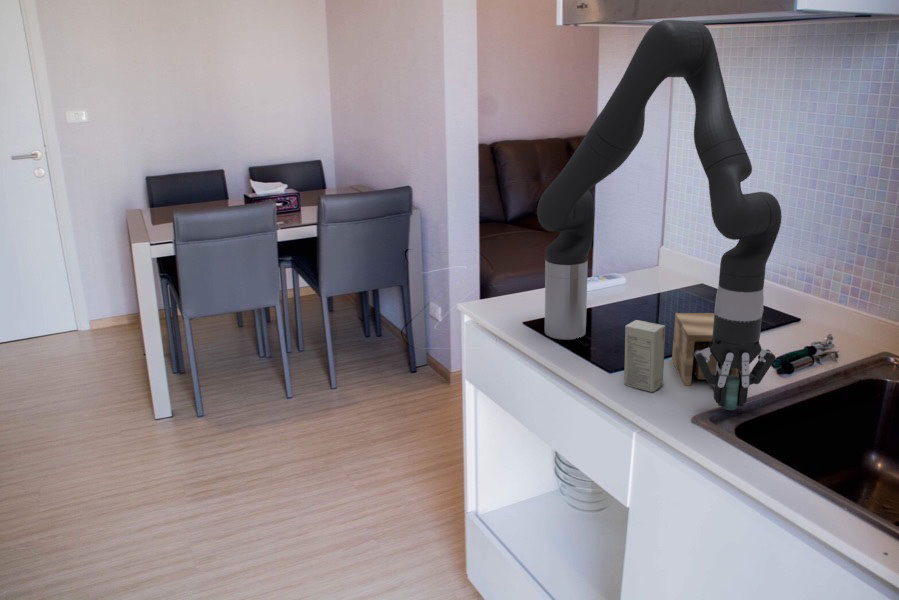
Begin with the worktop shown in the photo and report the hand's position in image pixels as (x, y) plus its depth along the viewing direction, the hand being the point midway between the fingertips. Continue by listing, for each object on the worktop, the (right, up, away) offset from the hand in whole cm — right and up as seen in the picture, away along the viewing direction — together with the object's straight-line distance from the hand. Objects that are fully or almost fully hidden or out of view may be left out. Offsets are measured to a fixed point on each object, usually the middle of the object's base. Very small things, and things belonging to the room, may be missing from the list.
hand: (729, 403), depth 131 cm
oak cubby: (+1, +4, +16) cm, 16 cm away
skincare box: (-12, +2, +11) cm, 17 cm away
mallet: (+1, +2, +7) cm, 8 cm away
